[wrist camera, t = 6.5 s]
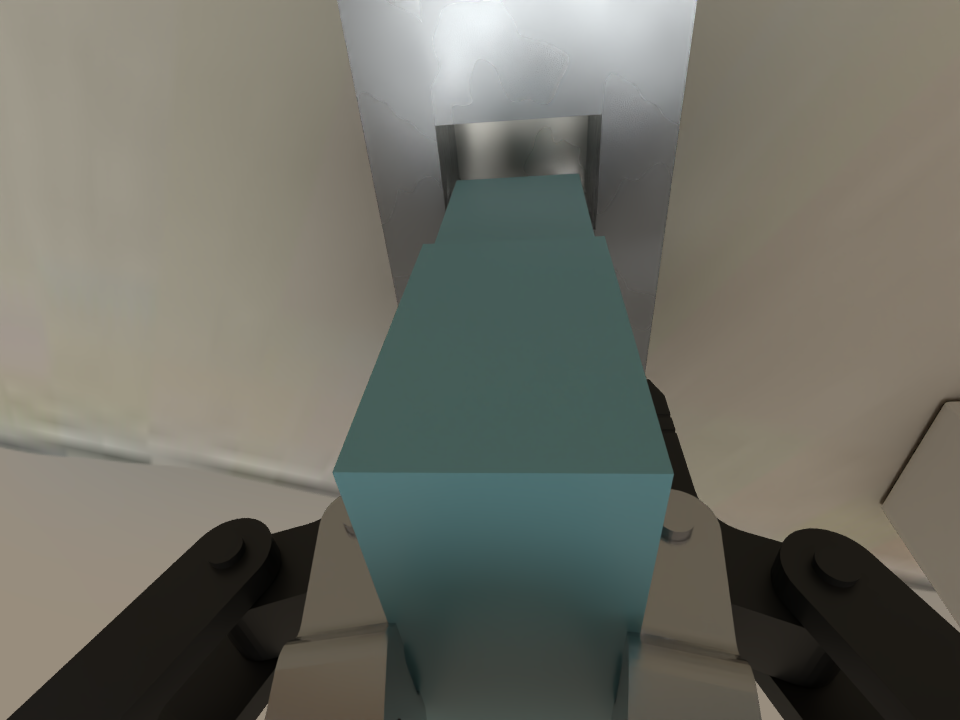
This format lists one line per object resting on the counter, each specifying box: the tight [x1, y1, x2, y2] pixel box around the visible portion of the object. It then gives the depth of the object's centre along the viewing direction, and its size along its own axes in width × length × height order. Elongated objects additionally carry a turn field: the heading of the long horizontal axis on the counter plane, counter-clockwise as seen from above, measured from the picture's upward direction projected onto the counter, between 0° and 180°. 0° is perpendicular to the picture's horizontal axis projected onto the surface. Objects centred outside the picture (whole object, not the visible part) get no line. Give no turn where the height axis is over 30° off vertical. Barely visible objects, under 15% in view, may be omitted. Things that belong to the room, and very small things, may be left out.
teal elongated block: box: [333, 174, 674, 720], centre depth 10 cm, size 8×3×9 cm, turn 5°
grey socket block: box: [337, 0, 697, 373], centre depth 17 cm, size 18×8×4 cm, turn 4°
